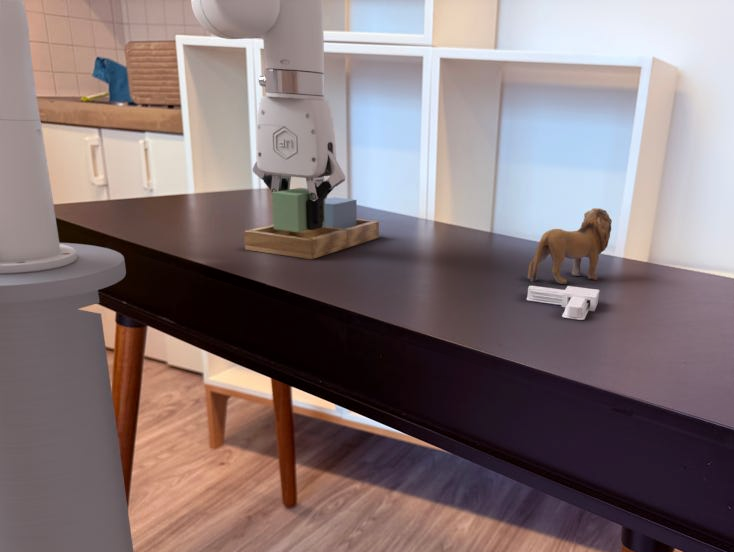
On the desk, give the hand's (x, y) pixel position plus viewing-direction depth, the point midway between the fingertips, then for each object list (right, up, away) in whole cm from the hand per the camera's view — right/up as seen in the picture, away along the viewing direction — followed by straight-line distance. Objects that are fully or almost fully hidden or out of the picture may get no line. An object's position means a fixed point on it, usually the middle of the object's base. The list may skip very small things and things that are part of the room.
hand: (300, 225), depth 94 cm
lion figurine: (+37, -8, -5) cm, 38 cm away
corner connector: (+34, -13, -19) cm, 41 cm away
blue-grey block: (+3, +1, +9) cm, 10 cm away
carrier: (+1, -2, +5) cm, 6 cm away
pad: (0, 0, 0) cm, 0 cm away
